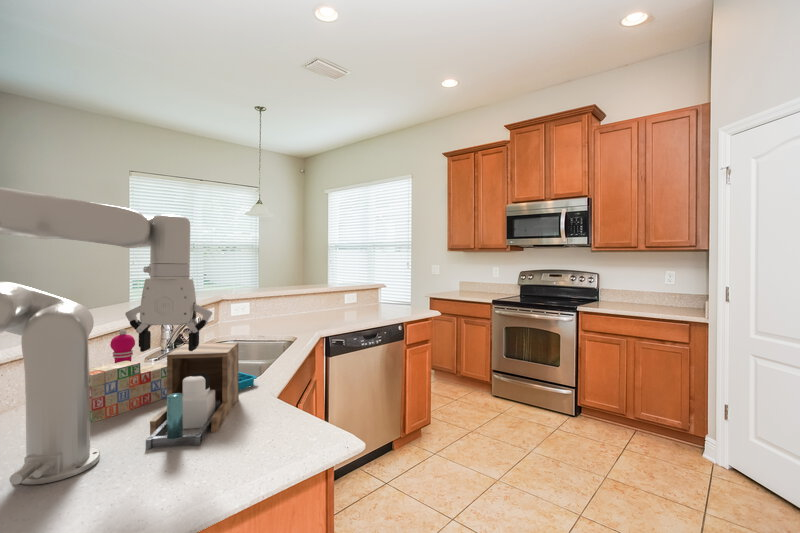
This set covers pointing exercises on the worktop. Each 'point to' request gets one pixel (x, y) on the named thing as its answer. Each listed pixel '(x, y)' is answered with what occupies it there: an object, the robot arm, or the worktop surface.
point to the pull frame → (177, 426)
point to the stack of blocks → (125, 387)
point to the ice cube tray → (246, 380)
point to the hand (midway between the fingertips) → (169, 350)
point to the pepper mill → (122, 346)
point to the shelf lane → (207, 360)
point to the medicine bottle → (197, 400)
